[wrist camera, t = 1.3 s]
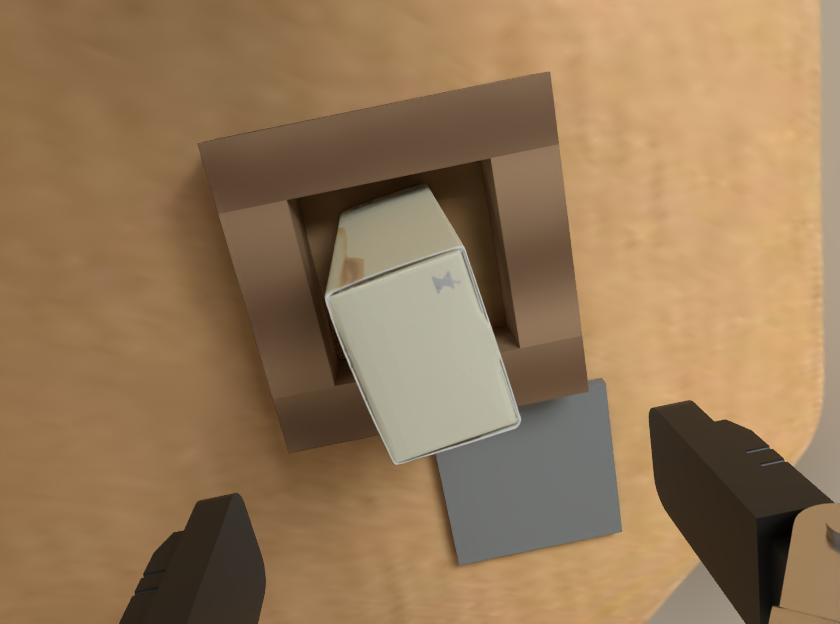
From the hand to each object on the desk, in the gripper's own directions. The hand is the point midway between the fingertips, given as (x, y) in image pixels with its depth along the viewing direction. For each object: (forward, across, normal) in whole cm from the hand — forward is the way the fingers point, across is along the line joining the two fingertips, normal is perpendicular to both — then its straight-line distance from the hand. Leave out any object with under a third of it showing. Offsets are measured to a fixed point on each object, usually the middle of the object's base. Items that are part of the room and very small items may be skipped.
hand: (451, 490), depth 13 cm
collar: (+19, 0, 0) cm, 19 cm away
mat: (+19, -4, +12) cm, 23 cm away
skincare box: (+19, 0, 0) cm, 19 cm away
